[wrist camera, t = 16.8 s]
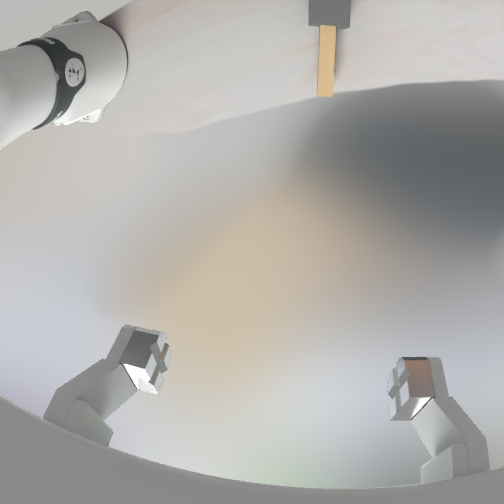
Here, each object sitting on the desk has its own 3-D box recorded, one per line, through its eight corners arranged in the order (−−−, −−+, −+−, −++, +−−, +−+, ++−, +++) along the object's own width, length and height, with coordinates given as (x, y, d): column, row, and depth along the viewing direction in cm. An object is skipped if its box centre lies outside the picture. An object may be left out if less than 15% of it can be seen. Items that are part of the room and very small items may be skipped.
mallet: (306, 89, 38) (306, 97, 33) (309, -6, 29) (309, -13, 25) (339, 92, 37) (344, 101, 33) (344, -2, 29) (350, -8, 24)
